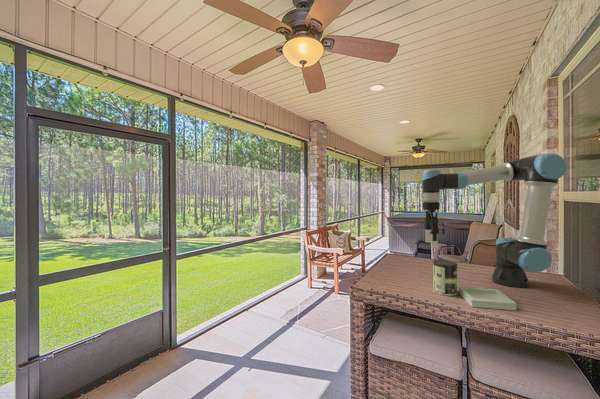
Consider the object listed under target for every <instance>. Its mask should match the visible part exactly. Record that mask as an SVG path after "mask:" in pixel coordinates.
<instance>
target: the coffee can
mask: <svg viewBox="0 0 600 399" xmlns="http://www.w3.org/2000/svg"><path fill="white" fill-rule="evenodd" d="M432 264H433V265H432V266H433V267H432V268H433V269H432V271H433V274H432V277H433V279H432V280H433V282H432V284H433V286H432V288H433V289H432V291H433V293H436V294H438V295H441V296H447V297H453V296H454V297H455V296H457V295H458V263H457V262H455V261H451V260H444V259H436V260H433V261H432Z"/></svg>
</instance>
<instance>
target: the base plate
mask: <svg viewBox="0 0 600 399" xmlns="http://www.w3.org/2000/svg"><path fill="white" fill-rule="evenodd" d="M458 294H459V295H460V296H461V297H462V298H463V299H464V301H465V302H467V303H468V305H470V307H472V308H481V309H482V308H483V309H495V310H496V309H497V310H507V311H517V302H515V301H514V300H513V299H511V298H510V297H509V296H507V295H506V294H505V293H503V292H502V291H501V290H499V289H496V288H480V287H479V288H478V287H467V286H466V287H465V286H464V287H463V286H459V287H458Z"/></svg>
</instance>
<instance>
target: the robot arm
mask: <svg viewBox="0 0 600 399" xmlns="http://www.w3.org/2000/svg"><path fill="white" fill-rule="evenodd" d="M567 170H568V165H567V162H566V160H565V159H564V158H563V157H562V156H561V155H559V154H556V153H552V152H550V153H541V154H537V155H532V156H531V155H530V156H526V157H522V158H519V159H516V160H512V161H508V162H504V163H503V164H502V165H495V166H490V167H489V166H488V167H482V168H477V169H476V168H475V169H471V170H464V171H459V172H453V173H441V170H439V169H425V170H424V171H423V172H422V179H421V180H422V194H421V197H422V201H423V202H422V210H424V211H425V218H424V219H425V220H424V229H425V243H430V248H432V249H438V248H439V245H438V244H439V243H438V242H439V241H438V240H439V236H438V234H440V231H439V229H440V228H439V222H438V212H437V211H439V210H440V209H441V204H440V203H441V202H440V201H441V190H463V189H464V190H465V189H466V188H467V186H473V185H479V184H486V183H492V182H498V181H506V182H512V181H524V184H525V185H526V186H527V189H526V196H525V202H524V207H523V208H524V209H523V215H522V221H521V226H520V233H519V236H517V237H516V238H512V237H511V238H509V237H505V238H502V237H501V238H500V237H499V238H497V239H496V241H495V267H494V270H493V272H492V275H491V281H492V282H494V283H496V284H499V285H502V286H506V287H513V288H526V287H527V288H528V287H529V279H528V276H527V272H526V271H528V272H530V273H531V272H532V273H541V272H544V271H545V270H547V269H548V268H549V267H550V266H551V265H552V260H553V258H552V254H551V253H550V252H549V251H548V243H547V242H546V241H545V236H546V229H547V228H546V227H547V222H548V216H549V209H550V205H551V204H550V203H551V198H552V191H553V188H554V187H555V186H557V185H558V182H559V179H560V178H562V177H563V176H564V175H565V174H566V173H567Z"/></svg>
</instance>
